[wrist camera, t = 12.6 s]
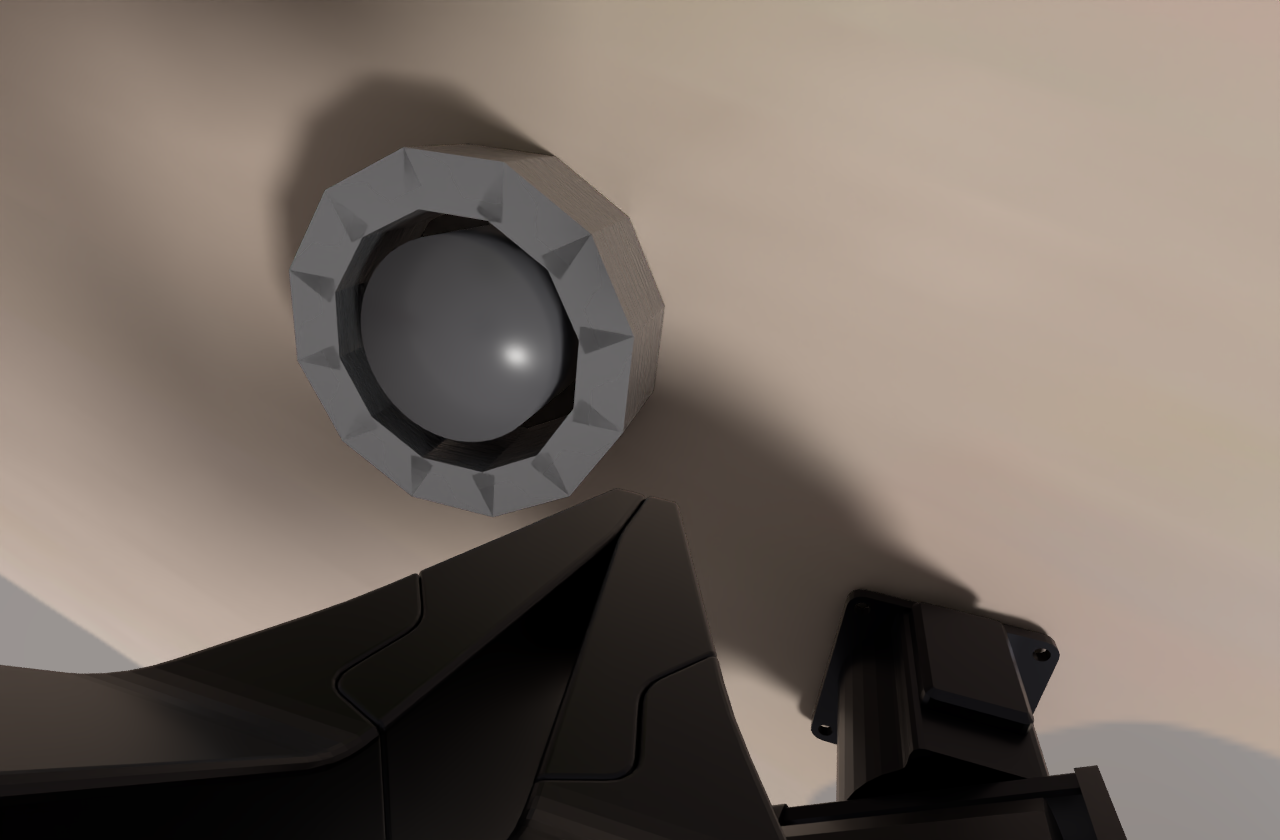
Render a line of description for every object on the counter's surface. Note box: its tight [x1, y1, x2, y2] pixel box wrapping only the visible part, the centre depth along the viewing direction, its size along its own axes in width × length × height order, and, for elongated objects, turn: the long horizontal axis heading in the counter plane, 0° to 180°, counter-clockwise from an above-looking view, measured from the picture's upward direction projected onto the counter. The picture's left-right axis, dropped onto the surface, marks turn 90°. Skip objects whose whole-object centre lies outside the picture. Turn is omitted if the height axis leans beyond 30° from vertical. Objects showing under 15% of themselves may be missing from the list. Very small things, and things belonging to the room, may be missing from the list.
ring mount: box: [289, 144, 665, 517], centre depth 22 cm, size 10×10×4 cm
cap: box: [361, 225, 579, 442], centre depth 22 cm, size 6×6×4 cm
